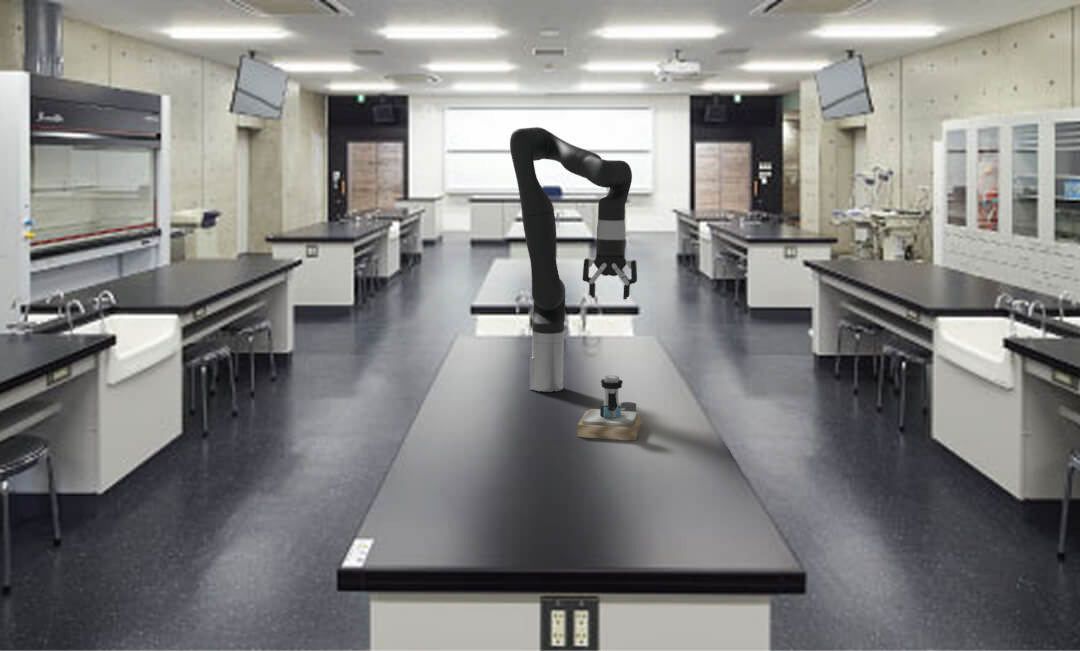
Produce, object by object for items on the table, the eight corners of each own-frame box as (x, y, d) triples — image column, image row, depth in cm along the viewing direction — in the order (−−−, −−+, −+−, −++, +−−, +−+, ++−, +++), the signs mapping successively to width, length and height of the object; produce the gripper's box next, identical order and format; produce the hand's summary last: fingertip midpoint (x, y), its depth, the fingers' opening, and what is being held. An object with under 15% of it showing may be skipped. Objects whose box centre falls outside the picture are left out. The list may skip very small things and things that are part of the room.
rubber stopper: (619, 420, 249) (619, 405, 248) (621, 416, 252) (621, 401, 252) (634, 421, 248) (635, 406, 247) (636, 417, 252) (637, 402, 251)
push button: (618, 412, 241) (619, 373, 240) (630, 417, 237) (631, 377, 235) (595, 415, 238) (596, 375, 237) (607, 420, 234) (608, 380, 232)
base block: (577, 436, 233) (577, 421, 232) (586, 421, 246) (586, 407, 246) (634, 440, 230) (635, 425, 229) (641, 425, 244) (641, 411, 243)
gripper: (581, 237, 250) (580, 299, 253) (636, 239, 247) (634, 301, 250) (586, 235, 258) (585, 295, 260) (639, 237, 255) (637, 297, 257)
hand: (609, 298), depth 255 cm, fingers open, 8 cm apart
